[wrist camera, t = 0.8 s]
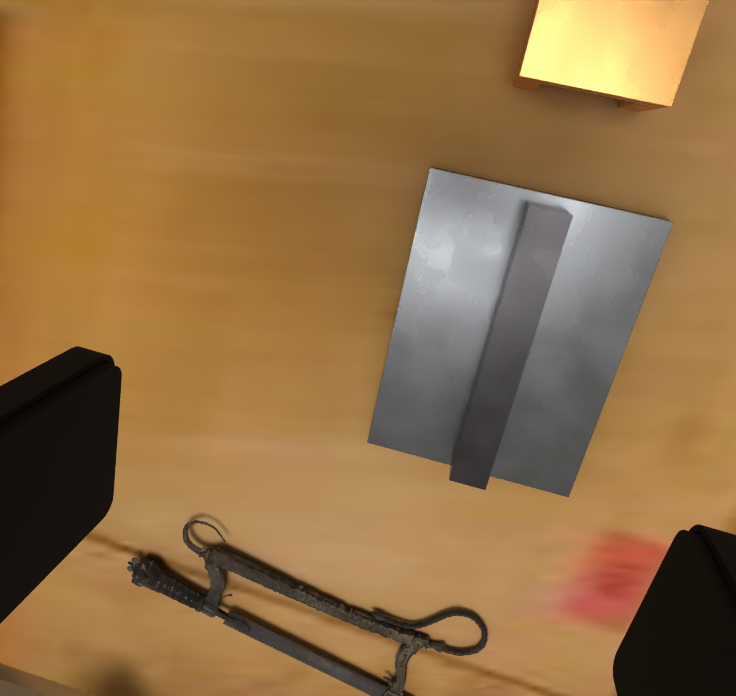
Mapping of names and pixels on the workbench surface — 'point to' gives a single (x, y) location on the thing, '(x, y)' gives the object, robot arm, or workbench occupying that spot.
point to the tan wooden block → (611, 48)
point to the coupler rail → (557, 341)
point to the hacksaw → (220, 559)
